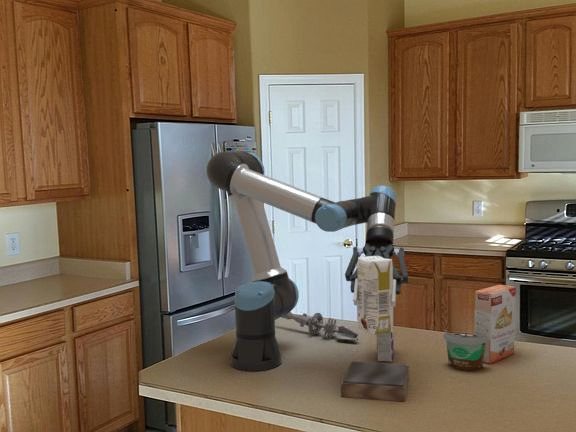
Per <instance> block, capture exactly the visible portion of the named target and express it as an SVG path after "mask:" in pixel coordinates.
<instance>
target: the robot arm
mask: <svg viewBox="0 0 576 432" xmlns="http://www.w3.org/2000/svg"><path fill="white" fill-rule="evenodd" d="M206 176H207V179H208V181H209V182H210V183H211V185H212V186H213V187H215V189H216V188H217V189H219V190H220V191H221V190H222V191H223V192H226V193H227V197H228V199H230V200H232V201H233V202H234V203H235V204H234V205H235V209H236V211H237V215H238V219H239V222H240V227H241V229H242V233H243V236H244V241H245V244H246V247H247V251H248V254H249V258H250V262H251V265H252V271H253V273H254V275H253V277H252V279H251V282H247V283H243V284H241V285H240V286H238V287H237V288H236V290H235V292H234V302H233V303H234V311H235V312H234V313H235V315H234V316H235V334H236V335H235V337H236V338H235V342H234V344H233V349H232V352H231V355H230V365H231V367H233V368H235V369H237V370H242V371H247V372H249V371H251V372H252V371H253V372H255V371H257V372H258V371H259V372H260V371H267V370H271V369H274V368H277V367H279V366H280V365H281V364H282V362H283V361H282V360H283V359H282V351H281V348H280V346H279V344H278V340H277V337H276V320H278V319H279V318H282V316H285V315H287V314H288V313H289V312H292V311H293V310H294V309H295V308H296V306H297V304H298V302H299V297H300V295H299V294H300V291H299V289H298V286H297V284H296V283H295V281H293V280H292V279H291V278H290V277H289V274H288V271H287V270H286V269H284V268H283V267H282V266H281V263H280V260H279V257H278V256H279V255H278V252H277V249H276V245H275V241H274V239H273V238H274V237H273V235H272V231H271V227H270V224H269V220H268V217H267V213H266V209H265V205H264V204H266V205H269V206H271V207H274V208H276V209H279V210H280V211H284V212H286V213H288V214H291V215H292V216H296V217H299V218H301V219H303V220H305V221H309V222H311V223H313V224H316V226H317V227H318V228H319V229H320V230H322V231H324V232H327V233H328V232H330V233H332V232H337V231H340V230H342V229H345V228H348V227H352V226H355V225H361V224H366V223H367V224H366V233H365V244H364V246H363V247H360V248H358V247H357V246H353V248H352V255H351V258H350V261H349V263H348V266H347V268H346V271H345V273H344V277H345V280H346V282H350V287H349V288H350V293H351V294H352V293H353V296H352V297H353V299H352V301H353V305H354V306H358V273H357V269H358V267H357V268H356V266H357V265H358V258H360V257H362V254H364V257H367V256H380V257H382V258H384V259H391V257H392V256H393V255H394V254H395V256H396V258H398V263H399V268H400V271H401V275H400V274H399V272H398V270H397V268H396V266H395V264H394V263H393V262H392V265H393V289H392V307H393V308H396V306H397V305H396V302H397V295H400V294H401V293H402V292H401V291H402V289H401V288H402V284H403V283H405V284H407V283H408V282H409V276H408V275H409V274H408V269H407V265H406V261H405V248H404V247H399V248H398V249H397V248H394V234H395V218H396V217H395V215H396V206H397V202H396V201H397V200H396V197H397V196H396V192H395V191H394V189H393V188H391V187H389V186H387V185H382V184H381V185H377V186H374V188H372V189H371V190H370V193H369V195H368V196H367V195H366V196H363V197H359V198H353V199H348V200H346V199H345V200H340V201H337V202H335V201H333V200H330V199H327V198H324V197H322V196H319V195H317V194H314V193H311V192H309V191H307V190H304V189H301V188H299V187H296V186H294V185H292V184H289V183H286V182H283V181H280V180H278V179H277V178H276V179H275V178H272V177H270V176H268V175H266V174H265V166H264V163H263V161H262V160H261V159H260V157H259V156H257V155H256V154H254V153H252V152H249V151H245V150H240V151H226V150H225V151H219V152H217V153H216V154H214V155H213V156H211V157H210V159H209V161H208V162H207V165H206Z"/></svg>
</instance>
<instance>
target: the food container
mask: <svg viewBox="0 0 576 432" xmlns="http://www.w3.org/2000/svg"><path fill="white" fill-rule="evenodd" d="M443 339H444V340H445V342H446V350H447V358H448V360H447V361H448V366H449V367H450V368H452V369H453V370H454V369H455V370H456V371H461V372H462V371H464V372H477V371H480V370H481V369H483V366H484V362H483V359H484V350H485V343H486V342H487V341H488V336H487V335H486V334H485V335H482V336H479V335H474V334H471V333H468V332H467V333H466V332H463V333H462V332H461V333H454V332H452V333H449V332H448V331H447V330H446V329H445V331H444V333H443Z"/></svg>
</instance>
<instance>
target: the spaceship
mask: <svg viewBox="0 0 576 432" xmlns="http://www.w3.org/2000/svg"><path fill="white" fill-rule="evenodd" d="M281 318H282V319H285V320H294V321H295V322H296V323H298V324H299V327H301V328H303V327H304V325H305V326H307V328H308V332H309V334H310V335H311V336H317V335H318V334H319V333H320V332H321V331H322V332H323V333H324V335H323V338H324V339H325V338H326V339H329V340H331V339H332V337H333V335H335V336H336V337H337V338H338V339H339V340H340V339H341V340H343V341H359V338H358V337H360V336H361V335H360V334H359V333H358V332H356V331H355V330H353V329H351V328H350V327H345V326H344V325H341V326H340V325H339V326H338V325H336V324H337V319H334V318H331V317H329V318H328V320H327V323H324V318H323V315H322V314H321V313H320V312H316V313H314V314H313V315H312V316H311V317H309V316H308V314H307V313H305V312H303V313H302V315H301V314H293V312H292V311H290V312H289V313H288V314H287V315H285V316H282V317H281ZM316 334H317V335H316Z"/></svg>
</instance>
